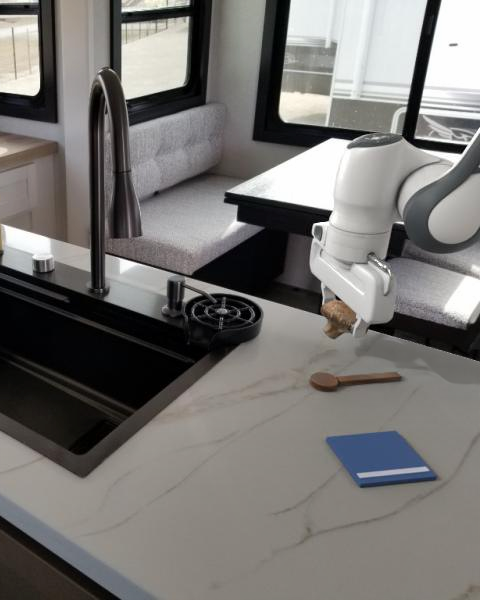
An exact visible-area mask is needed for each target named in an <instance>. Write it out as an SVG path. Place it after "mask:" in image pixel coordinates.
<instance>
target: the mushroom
mask: <svg viewBox="0 0 480 600" xmlns="http://www.w3.org/2000/svg"><path fill="white" fill-rule="evenodd" d="M320 313H321V315H322V316H323V317H324V318H325V319H326V321H327V323H326V324H325V325H324V326H323V327H322V330H323V333H324V334H325V336H327V337H328V338H329V339H330V340H337V339H338V338H339V337H341V336H342V335H343V334H351V333H350V330H351V328H350V327H351V324H355V323H356V322H357V320H358V319H357V318H356V313H355V312H354V311H353V310H352V309H351V308H350V307H349V306H348V305H347V304H346V303H344V302H343V301H342V300H337V299H336V300H334V301H329V302H326V303H324V304H323V305H322V304H321V307H320ZM369 328H370V325H369V326H368V327H367V328H366V333H365V335H366V334H368V331H369Z"/></svg>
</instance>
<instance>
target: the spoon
mask: <svg viewBox="0 0 480 600" xmlns="http://www.w3.org/2000/svg"><path fill="white" fill-rule="evenodd" d="M400 381H402V375H401V374H400V373H399V372H398V371H386V372H385V371H384V372H373V373H363V374H350V375H348V374H347V375H338V376H334V374H331V373H330V372H326V371H316V372H313V373H311V375H310V377H309V385H310V386H311V387H312V388H313V389H315V390H317V391H319V392H324V393H330V392H335V391H336V390H337V389H338V386H351V385H352V386H353V385H363V384H364V385H365V384H375V383H386V382H400Z"/></svg>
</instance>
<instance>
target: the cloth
mask: <svg viewBox="0 0 480 600" xmlns="http://www.w3.org/2000/svg"><path fill="white" fill-rule="evenodd" d="M325 442H326V443H327V444H328V446H329V447H330V449H331V450H332V452H333V453H334V454H335V456H336V457H337V458H338V459H339V461H340V463H342V465H343V466H344V468H345V469H346V470H347V472H348V473H349V475H350V476H351V478H352V479H353V480H354V482H355V483H356V484H357V486H358V487H359V488H368V487H369V488H370V487H378V486H387V485H396V484H407V483H416V482H427V481H434V480H437V477H438V476H437V474H436V473H435V472H434V471H433V470H432V469H431V468H430V466H428V465H427V463H426V462H425V461H424V460H423V459H422V458H421V457H420V455H419V454H418V453H417V452H416V451H415V450H414V449H413V447H412V446H410V444H409V443H408V442H407V441H406V440H405V439H404V438H403V437H402V435H401V434H400V433H399V432H398V430H387V431H377V432H364V433H354V434H345V435H344V434H343V435H332V436H325Z"/></svg>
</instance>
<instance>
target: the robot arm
mask: <svg viewBox="0 0 480 600" xmlns="http://www.w3.org/2000/svg"><path fill="white" fill-rule="evenodd" d="M332 195H333V202H334V204H333V209H332V212H331V214H330V216H329V219H328V221H324V222H317V223H313V225H312V229H311V235H312V236H313V238H312V241H311V247H310V254H309V267H310V269H309V270H310V272H311V273H312V274H313V276H314V277H316V278H317V279H318V280H319V281H320V283H321V284H320V288H321V294H322V304H321V306H322V305H323V304H324V303H326V302H329V301H334V300H337V299H336V296H337V297H338V298H339V299H340V301H343V302H344V303H346V304H347V305H348V306H349V307H350V308H351V309H352V310H353V311H354V312H355V313H356V318H357V319H358V320H357V322H356V323H355V324H351V327H350V328H351V330H350V333H349V334H350V335H352V337H353V338H355V339H362V338H365V336H366V334H367V333H366V328H367V327H368V326H369V327H370V326H371V325H379V324H386V323H389V322H390V321H391V320H392V319H393V317H394V314H395V307H396V301H397V300H396V299H397V290H398V289H397V287H398V286H397V279H396V276H395V274H393V272H392V270H391V269H392V267H391V264H389V263H388V262H386V261H384V259H385V258H386V257H387V253H388V248H389V244H390V239H391V233H392V230H393V225H394V224H395V223H403V226H404V230H405V234H406V235H407V237H408V239H409V240H410V241H411V243H412V244H414V246H416V247H417V248H419V249H420V250H422V251H424V252H428V253H431V254H437V255H448V254H454V253H455V254H456V253H459V252H461V251H464V250H467V249H469V248H471V247H473V246H474V245H475V244H477V243H478V242H479V241H480V127H479V128H478V130H476V133H475V134H474V136H472V139H471V140H470V142H469V143H468V144H467V146H466V148H465V149H464V150H463V152H462V153H461V154H460V156H459V158H458V159H457V161H456V162H453V161H452V160H449V159H446V158H443V157H441V156H436V155H433V154H431V153H428V152H426V151H424V150H421V149H419V148H418V147H416V146H414V145H413V144H411V143H410V142H409V141H407V140H406V139H405V138H404V136H403V135H401V134H397V133H392V132H376V133H369V134H364V135H361V136H359V137H356V138H354V139H353V140H351V141H349V143H348V144H347V145H346V146H345V148H344V150H343V152H342V155H341V157H340V160H339V163H338V167H337V173H336V176H335V181H334V187H333V193H332ZM365 333H366V334H365Z"/></svg>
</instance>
